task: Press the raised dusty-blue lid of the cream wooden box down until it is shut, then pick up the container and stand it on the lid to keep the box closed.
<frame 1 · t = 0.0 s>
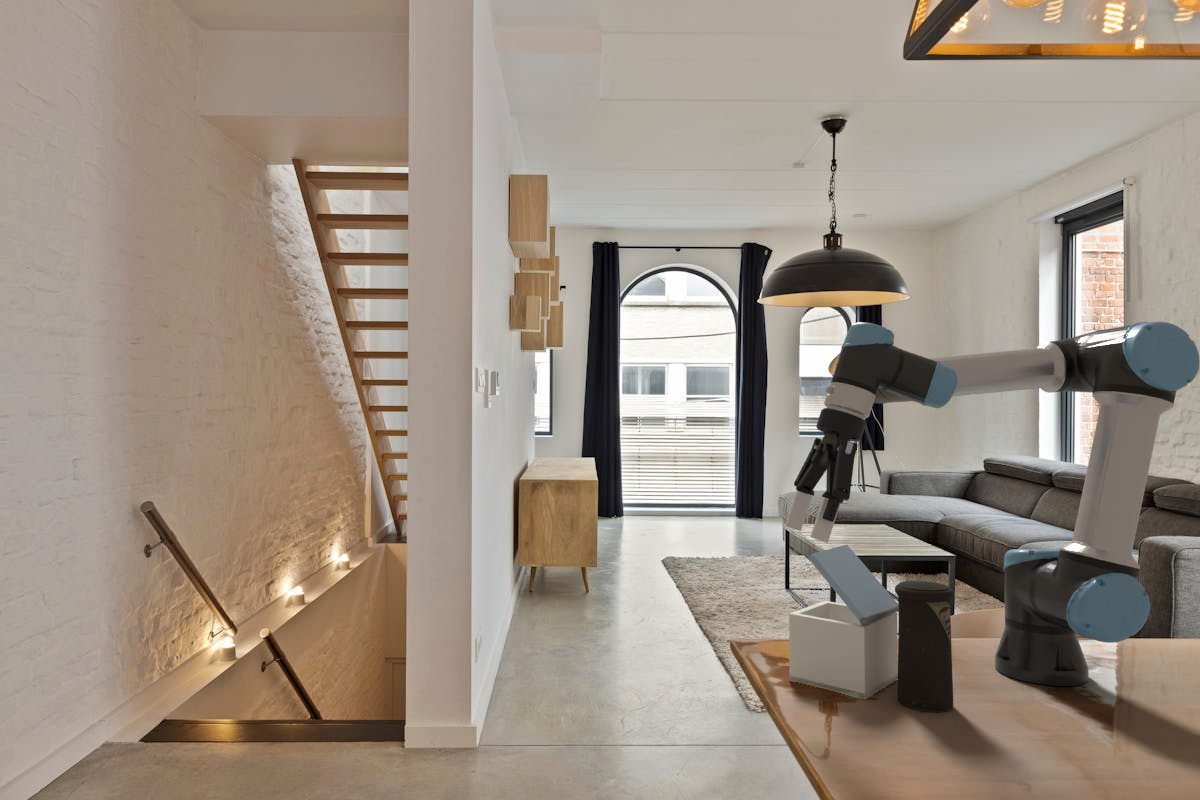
hand: (805, 534, 129), 28 cm above the table, tool tilted 20°, fingers open, 13 cm apart
container: (924, 705, 128), on the table
lid: (855, 583, 139), point 18 cm above the table, hinge at 45.0°
box: (843, 680, 140), on the table
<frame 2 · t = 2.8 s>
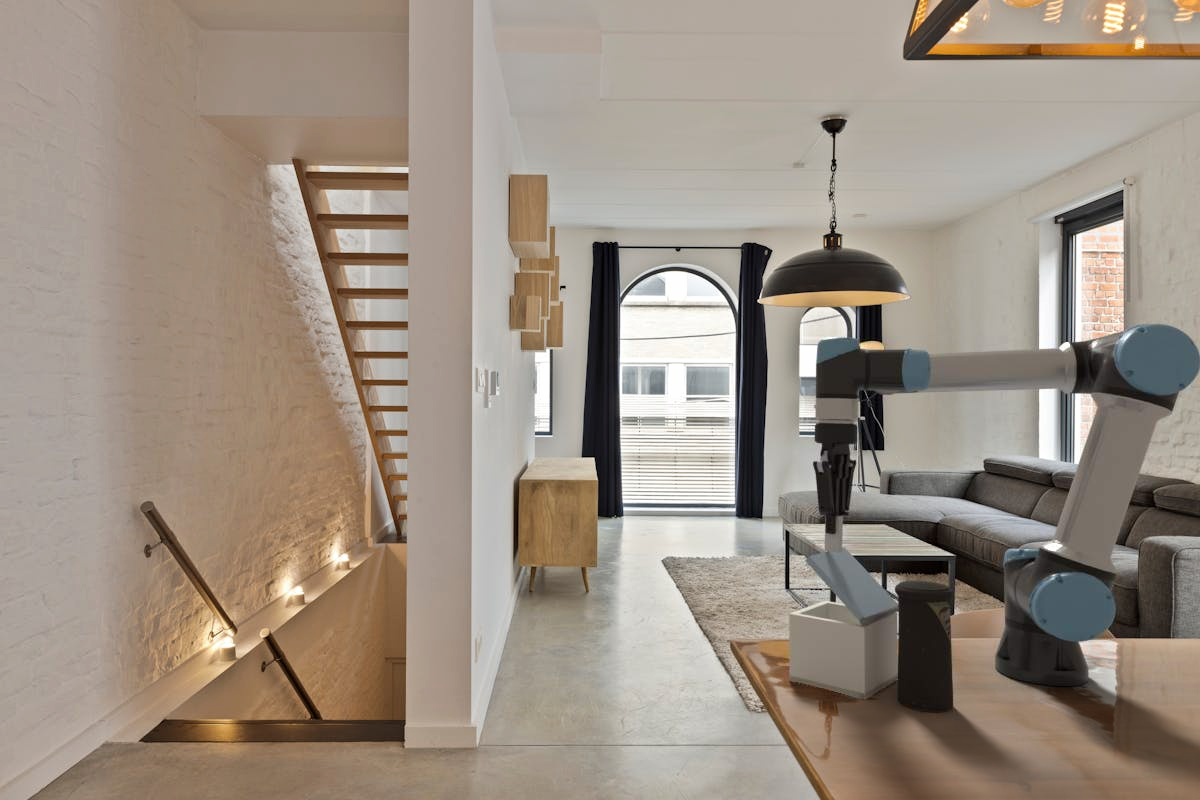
hand: (833, 551, 141), 23 cm above the table, tool pointing down, fingers closed
lid: (854, 584, 139), point 17 cm above the table, hinge at 41.9°, touching gripper
everything else where it was.
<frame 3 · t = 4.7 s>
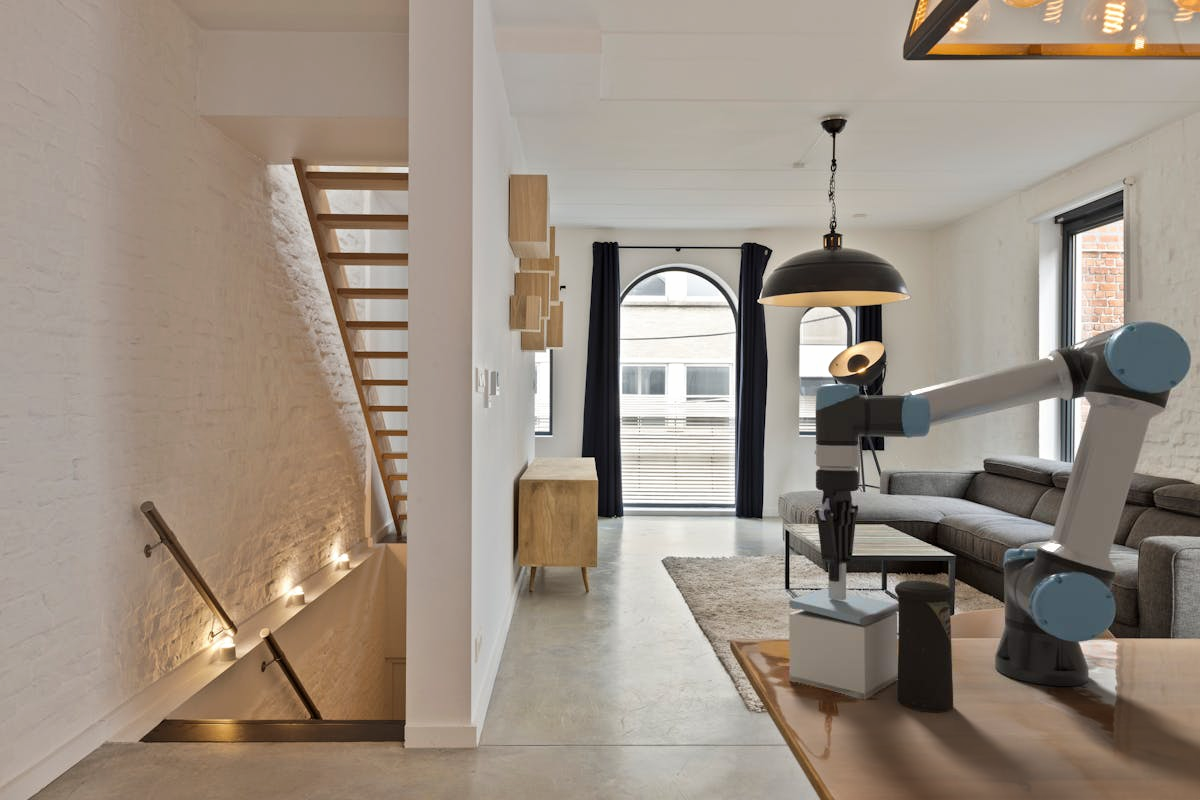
hand: (837, 598, 141), 14 cm above the table, tool pointing down, fingers closed
lid: (845, 605, 140), point 13 cm above the table, hinge at 3.6°
everything else where it was.
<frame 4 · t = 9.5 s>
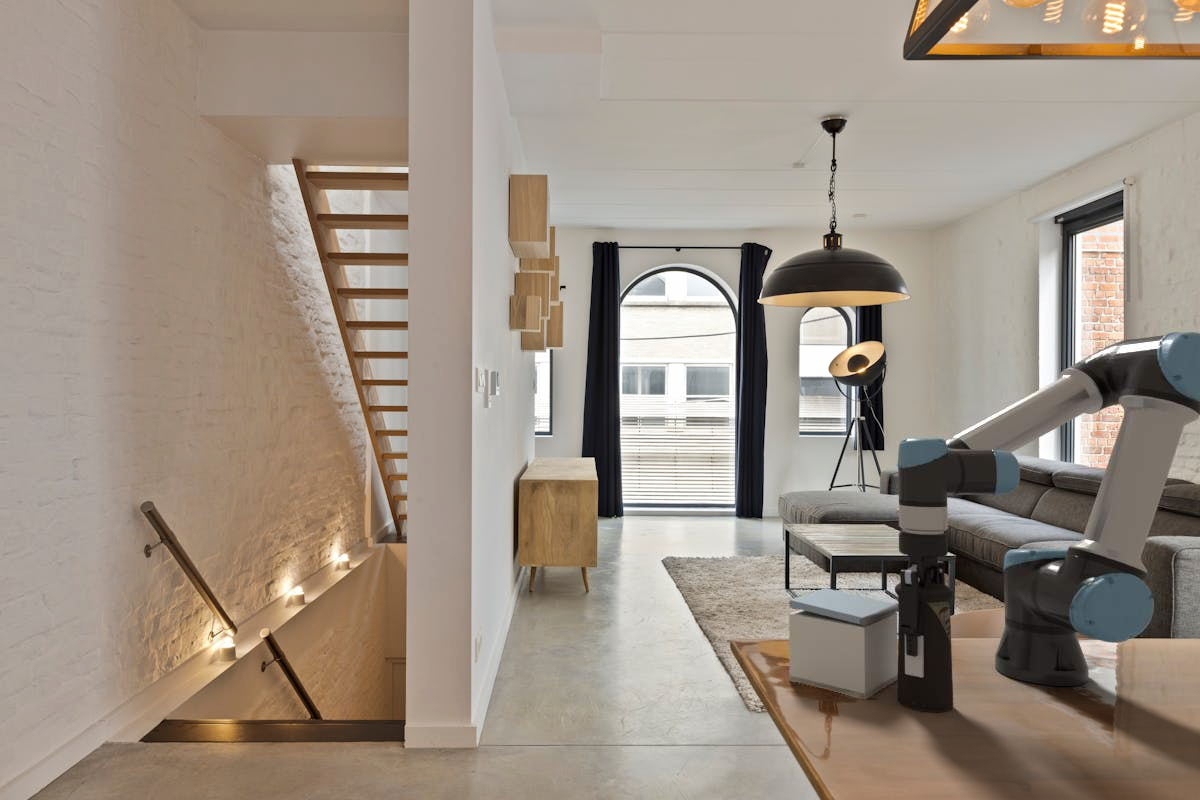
hand: (924, 668, 128), 6 cm above the table, tool pointing down, fingers closed on container, 8 cm apart
container: (924, 705, 128), on the table, touching gripper
everything else where it was.
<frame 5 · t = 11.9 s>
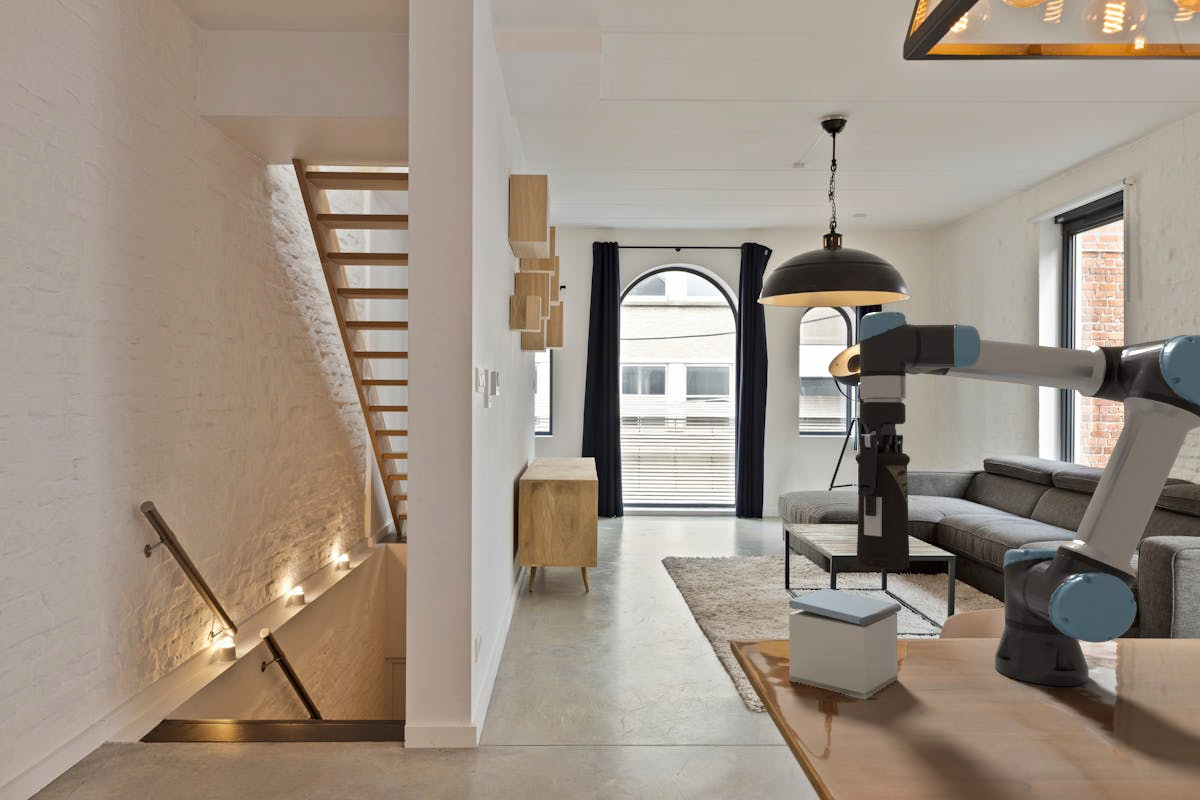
hand: (882, 532, 134), 27 cm above the table, tool pointing down, fingers closed on container, 8 cm apart
container: (882, 567, 134), point 21 cm above the table, touching gripper
everything else where it was.
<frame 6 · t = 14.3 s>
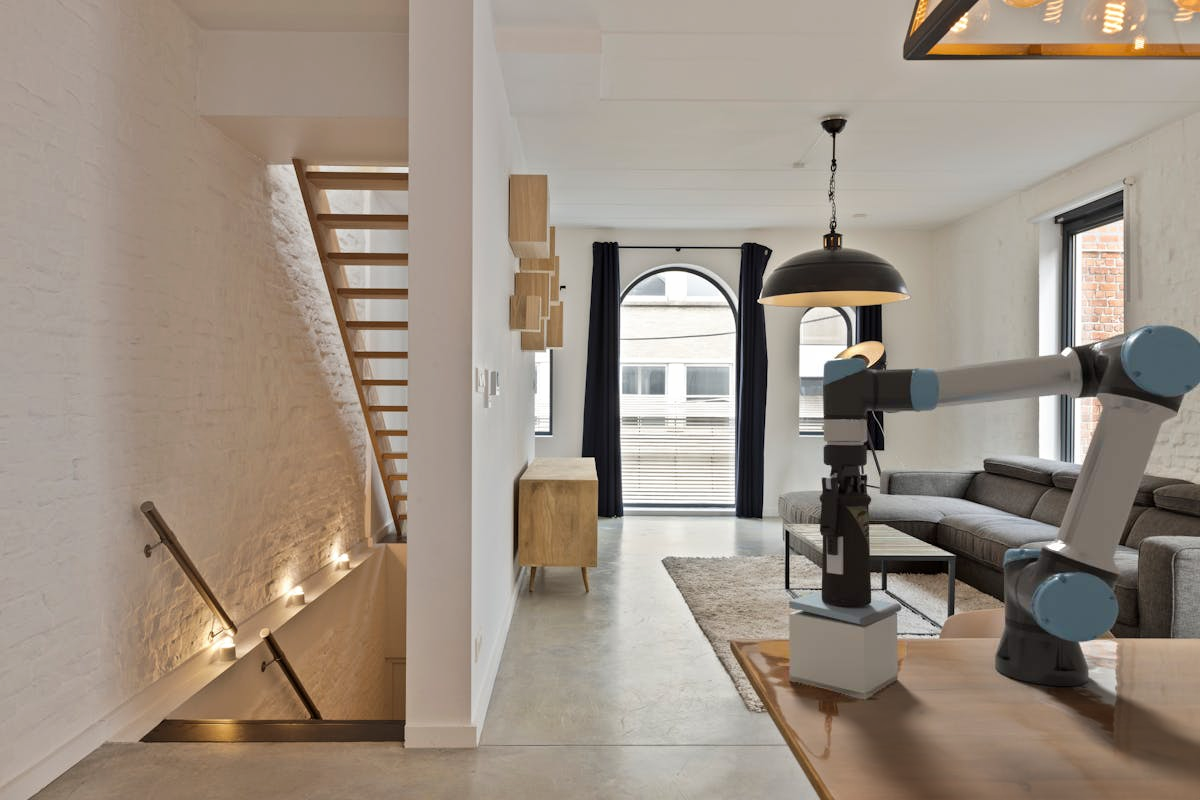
hand: (845, 569, 140), 20 cm above the table, tool pointing down, fingers closed on container, 8 cm apart
container: (845, 602, 140), point 14 cm above the table, touching gripper, lid
lid: (845, 606, 140), point 13 cm above the table, hinge at 3.0°, touching container
when the fingers open (20 cm above the table, at t = 14.5 s): container stays where it is, resting on lid.
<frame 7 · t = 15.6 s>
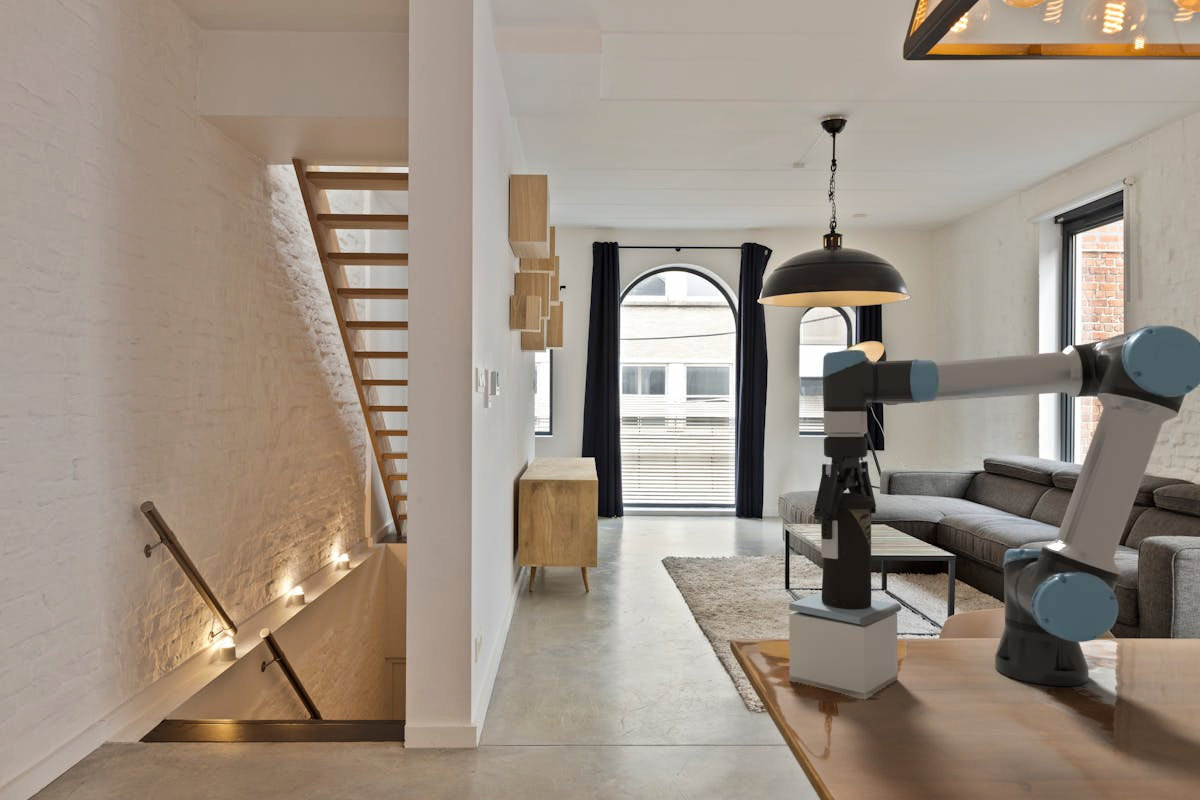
hand: (846, 553, 140), 23 cm above the table, tool pointing down, fingers open, 13 cm apart
container: (845, 605, 140), point 14 cm above the table, touching lid
lid: (845, 607, 140), point 13 cm above the table, hinge at 1.2°, touching container
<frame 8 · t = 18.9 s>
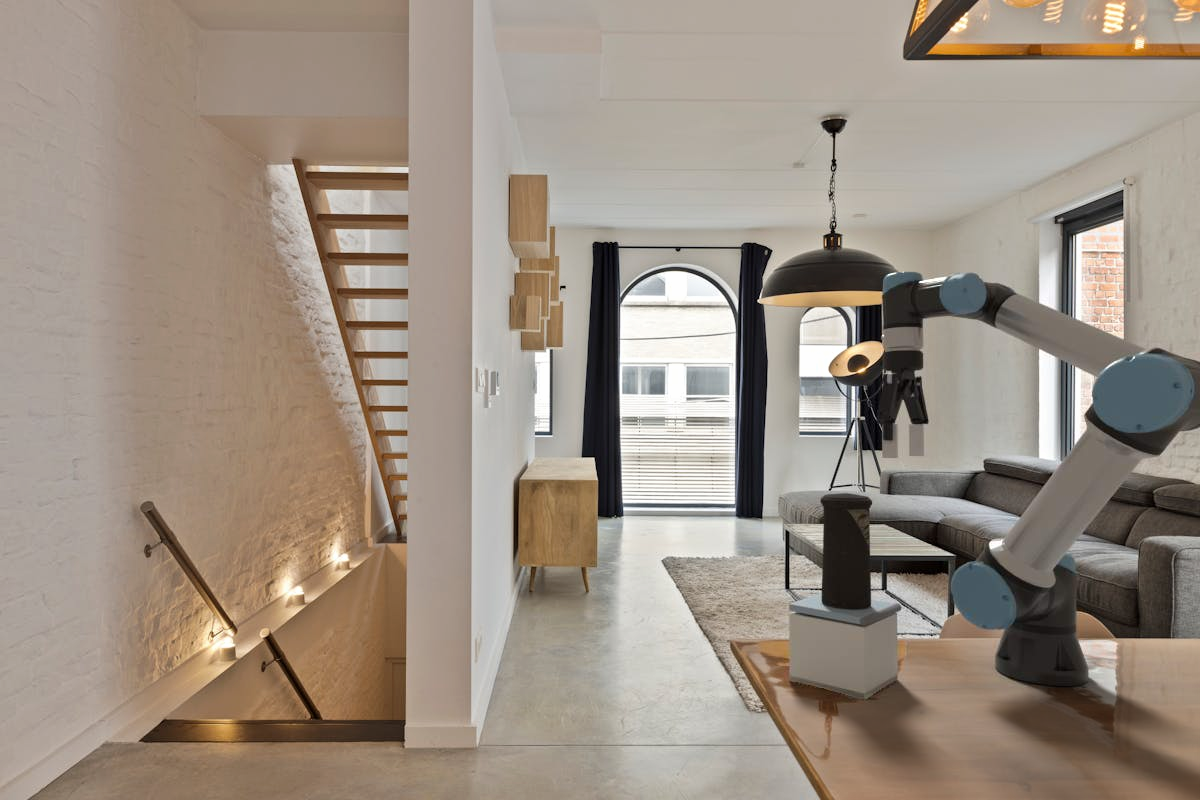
hand: (903, 457, 154), 40 cm above the table, tool pointing down, fingers open, 13 cm apart
lid: (845, 607, 140), point 13 cm above the table, hinge at 0.6°, touching container
everything else where it was.
at the end: lid at +1° (first picture: +45°); container inside the target area on the box (0.4 cm from its centre), point 13.5 cm above the box's base; container tilted 1° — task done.
